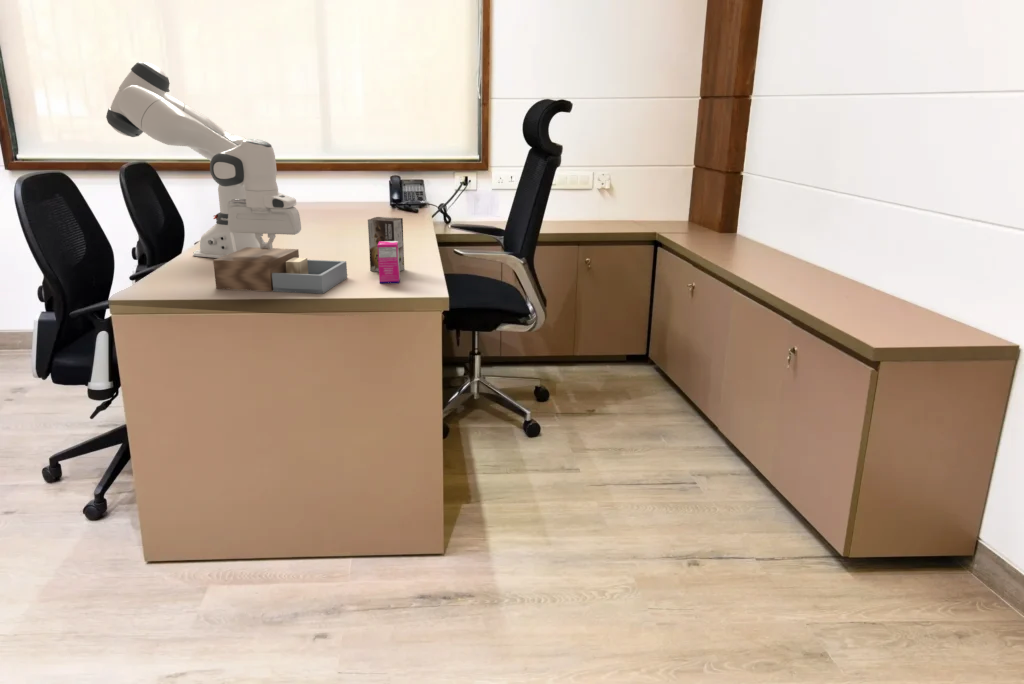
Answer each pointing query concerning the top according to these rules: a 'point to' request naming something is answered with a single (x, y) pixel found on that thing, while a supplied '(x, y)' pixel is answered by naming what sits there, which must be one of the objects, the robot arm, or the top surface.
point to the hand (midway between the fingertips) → (266, 249)
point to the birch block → (297, 266)
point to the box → (312, 277)
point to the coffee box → (385, 238)
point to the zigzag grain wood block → (251, 268)
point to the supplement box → (388, 262)
